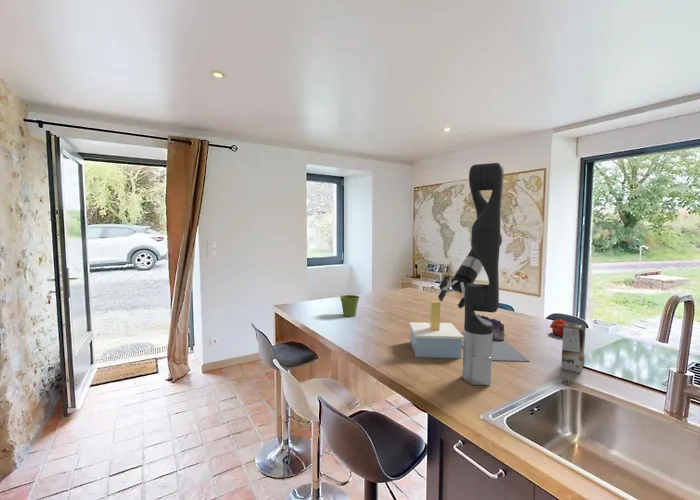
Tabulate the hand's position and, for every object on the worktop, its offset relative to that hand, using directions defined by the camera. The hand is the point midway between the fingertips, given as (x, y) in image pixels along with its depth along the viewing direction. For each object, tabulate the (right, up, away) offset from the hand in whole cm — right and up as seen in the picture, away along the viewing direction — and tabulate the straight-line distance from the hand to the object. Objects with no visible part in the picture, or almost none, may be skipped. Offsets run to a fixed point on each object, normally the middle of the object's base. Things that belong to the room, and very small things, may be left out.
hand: (449, 303), depth 130 cm
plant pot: (-39, -18, +70) cm, 82 cm away
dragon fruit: (+66, -22, +36) cm, 78 cm away
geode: (+30, -21, +37) cm, 52 cm away
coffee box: (+46, -24, -2) cm, 52 cm away
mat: (+22, -22, +14) cm, 34 cm away
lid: (-2, -14, +15) cm, 21 cm away
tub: (-2, -22, +15) cm, 27 cm away
